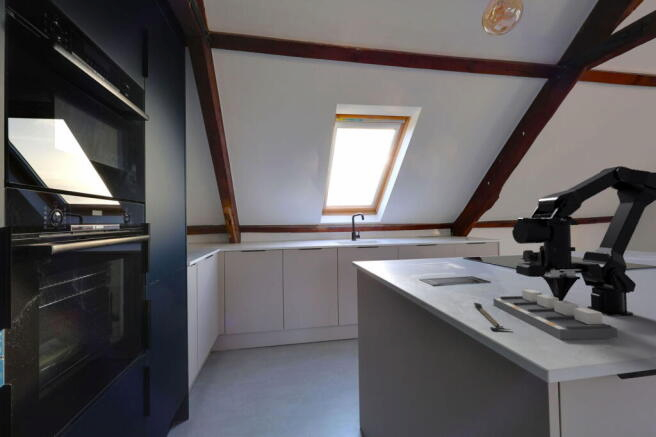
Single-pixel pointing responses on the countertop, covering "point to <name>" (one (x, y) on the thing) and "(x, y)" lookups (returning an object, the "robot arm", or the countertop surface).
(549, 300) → the tab
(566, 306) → the white rectangular block
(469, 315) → the countertop surface
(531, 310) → the switch bank
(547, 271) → the robot arm
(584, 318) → the off-white short block
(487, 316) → the claw hammer
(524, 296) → the white rectangular block
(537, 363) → the countertop surface
